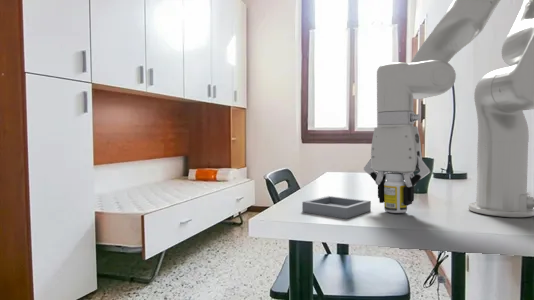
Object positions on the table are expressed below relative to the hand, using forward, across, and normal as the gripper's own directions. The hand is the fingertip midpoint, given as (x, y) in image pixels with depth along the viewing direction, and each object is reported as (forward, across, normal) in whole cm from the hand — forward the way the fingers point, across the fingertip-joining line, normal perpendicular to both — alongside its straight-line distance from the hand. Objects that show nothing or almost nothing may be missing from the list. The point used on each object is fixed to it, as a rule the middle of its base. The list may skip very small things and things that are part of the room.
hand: (395, 202), depth 84 cm
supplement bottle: (+2, 0, 0) cm, 2 cm away
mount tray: (+2, +10, +7) cm, 13 cm away
